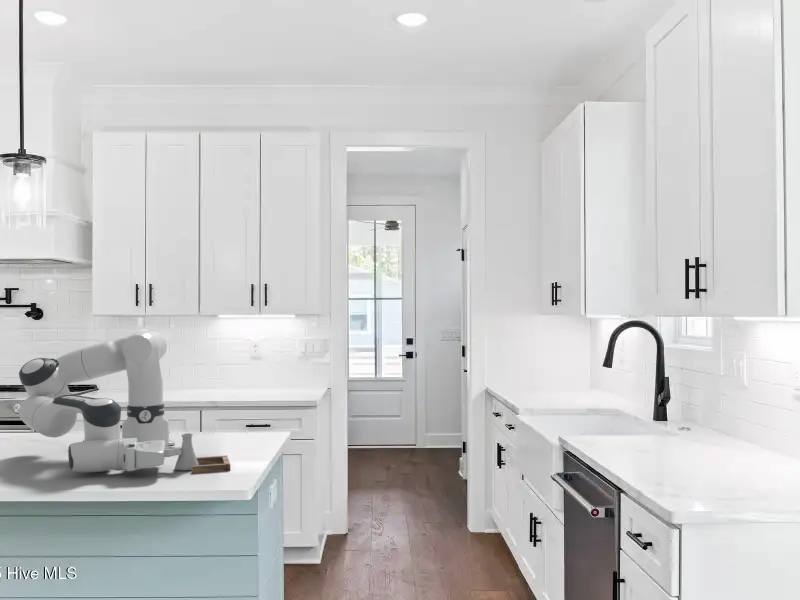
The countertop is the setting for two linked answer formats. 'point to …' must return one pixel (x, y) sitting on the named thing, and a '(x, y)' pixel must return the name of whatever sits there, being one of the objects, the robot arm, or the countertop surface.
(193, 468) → the dock
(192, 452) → the flask
